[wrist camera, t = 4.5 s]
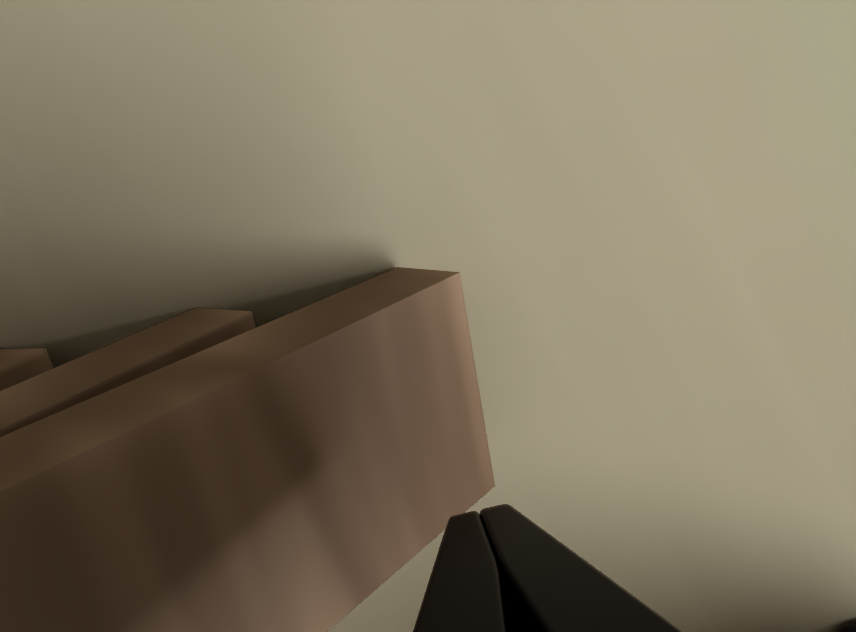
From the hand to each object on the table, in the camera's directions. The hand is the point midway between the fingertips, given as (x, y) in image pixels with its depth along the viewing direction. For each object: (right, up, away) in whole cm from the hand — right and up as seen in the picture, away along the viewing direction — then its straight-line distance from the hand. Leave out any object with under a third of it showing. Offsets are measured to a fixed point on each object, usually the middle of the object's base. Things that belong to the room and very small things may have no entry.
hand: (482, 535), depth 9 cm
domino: (0, +2, +5) cm, 5 cm away
